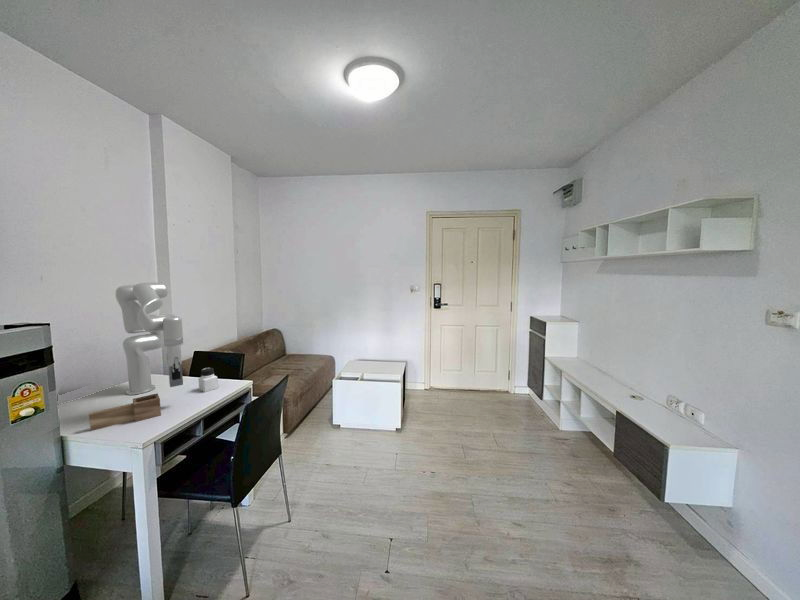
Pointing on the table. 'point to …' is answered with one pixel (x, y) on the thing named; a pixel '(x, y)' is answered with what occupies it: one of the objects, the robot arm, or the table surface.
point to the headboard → (126, 412)
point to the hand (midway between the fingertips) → (175, 377)
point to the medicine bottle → (208, 380)
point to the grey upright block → (177, 381)
